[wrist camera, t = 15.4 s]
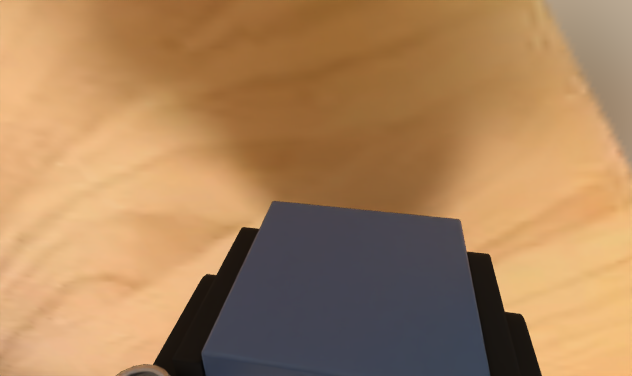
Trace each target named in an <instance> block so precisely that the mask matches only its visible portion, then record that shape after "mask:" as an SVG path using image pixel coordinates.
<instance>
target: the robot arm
mask: <svg viewBox="0 0 632 376" xmlns="http://www.w3.org/2000/svg"><path fill="white" fill-rule="evenodd" d="M258 231H259V229H255V228H246V227H243V228H242V229H241V230H240V232H239V234H238V235H237V237H236V239H235V241H234V243H233V245H232V247H231V249H230V251H229V252H228V254H227V256H226V258H225V260H224V262H223V264H222V266H221V268H220V269H219V271H218V273H217V275H210V274H206V275H205V276H204V277H203V278H202V279H201V281H200V283H199V284H198V286H197V288H196V290H195V291H194V293H193V295H192V297H191V298H190V300H189V302H188V304H187V305H186V307H185V309H184V311H183V313H182V314H181V316H180V318H179V320H178V321H177V323H176V325H175V327H174V328H173V330H172V332H171V334H170V335H169V337H168V339H167V341H166V343H165V344H164V346H163V348H162V350H161V351H160V353H159V355H158V357H157V358H156V360H155V362H154V364H153V365H148V364H143V365H138V366H133V367H131V368H128V369H126V370H124V371H122V372H120V373H119V374H117V375H116V376H206V374H205V369H204V365H203V360H202V350H203V348H204V346H205V344H206V341H207V339H208V337H209V335H210V333H211V331H212V329H213V327H214V324H215V322H216V320H217V318H218V316H219V314H220V312H221V310H222V307H223V305H224V303H225V301H226V299H227V297H228V295H229V293H230V290H231V288H232V286H233V284H234V282H235V280H236V278H237V276H238V273H239V271H240V269H241V267H242V265H243V263H244V261H245V259H246V256H247V254H248V252H249V250H250V248H251V246H252V244H253V242H254V239H255V237H256V235H257V233H258ZM467 256H468V262H469V267H470V272H471V277H472V283H473V288H474V293H475V298H476V303H477V309H478V314H479V319H480V324H481V330H482V335H483V340H484V345H485V350H486V356H487V361H488V366H489V371H490V376H542V375H541V371H540V368H539V365H538V362H537V358H536V355H535V352H534V348H533V345H532V342H531V339H530V335H529V332H528V329H527V325H526V322H525V320H524V318H523V316H522V315H521V314H516V313H509V312H505V311H504V307H503V304H502V300H501V296H500V292H499V288H498V284H497V280H496V276H495V273H494V269H493V265H492V261H491V257H490V255H489V254H484V253H475V252H467Z"/></svg>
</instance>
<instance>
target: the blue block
mask: <svg viewBox="0 0 632 376" xmlns="http://www.w3.org/2000/svg"><path fill="white" fill-rule="evenodd" d="M202 360H203V365H204V369H205V374H206V376H490V371H489V366H488V361H487V356H486V350H485V345H484V340H483V335H482V330H481V324H480V319H479V314H478V309H477V303H476V298H475V293H474V288H473V283H472V277H471V272H470V267H469V262H468V256H467V251H466V246H465V241H464V235H463V230H462V225H461V221H460V220H459V219H452V218H441V217H431V216H421V215H411V214H401V213H391V212H381V211H371V210H361V209H351V208H340V207H330V206H320V205H310V204H300V203H290V202H280V201H273V202H272V203H271V205H270V208H269V210H268V212H267V214H266V216H265V218H264V220H263V222H262V225H261V227H260V229H259V231H258V233H257V235H256V237H255V239H254V242H253V244H252V246H251V248H250V250H249V252H248V254H247V256H246V259H245V261H244V263H243V265H242V267H241V269H240V271H239V273H238V276H237V278H236V280H235V282H234V284H233V286H232V288H231V290H230V293H229V295H228V297H227V299H226V301H225V303H224V305H223V307H222V310H221V312H220V314H219V316H218V318H217V320H216V322H215V324H214V327H213V329H212V331H211V333H210V335H209V337H208V339H207V341H206V344H205V346H204V348H203V350H202Z"/></svg>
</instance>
